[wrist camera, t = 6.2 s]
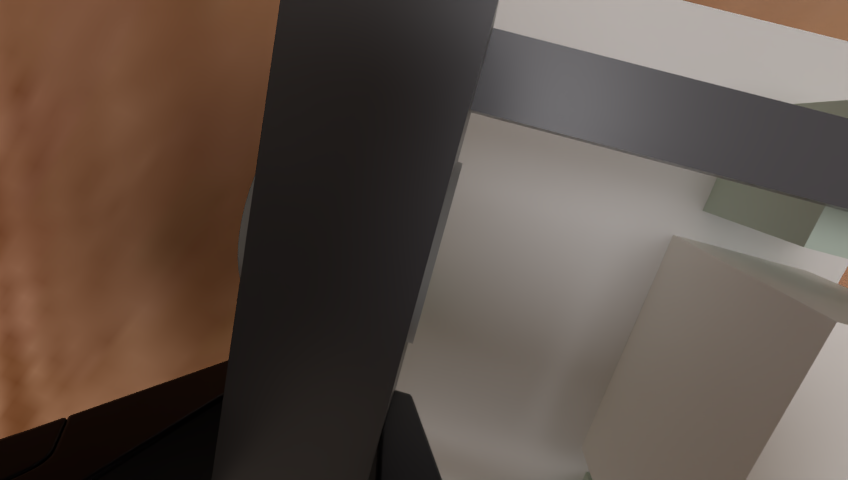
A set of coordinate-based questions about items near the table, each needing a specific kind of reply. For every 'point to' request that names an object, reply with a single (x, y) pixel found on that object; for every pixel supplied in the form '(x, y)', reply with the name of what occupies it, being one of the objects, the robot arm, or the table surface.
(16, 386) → the table surface
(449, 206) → the glasses
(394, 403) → the robot arm
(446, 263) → the display stand
